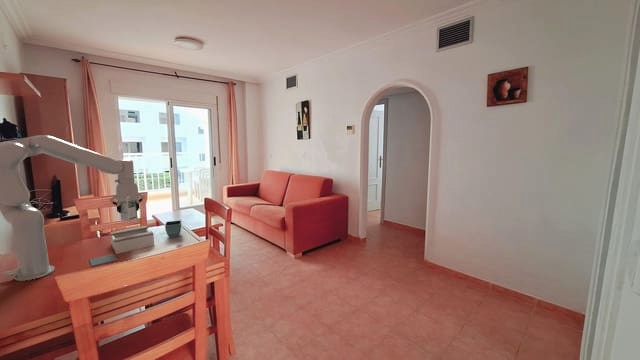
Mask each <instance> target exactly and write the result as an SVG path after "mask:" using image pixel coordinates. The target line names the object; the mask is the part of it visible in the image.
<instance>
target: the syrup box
mask: <svg viewBox="0 0 640 360" xmlns="http://www.w3.org/2000/svg"><path fill="white" fill-rule="evenodd" d="M125 200H126V201H125V202H121V203H120V208H121V213H119V214H120V221H123V222H132V221H134V220H137V219H138V211H137V205H136V201H130V197H129V196H125Z"/></svg>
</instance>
